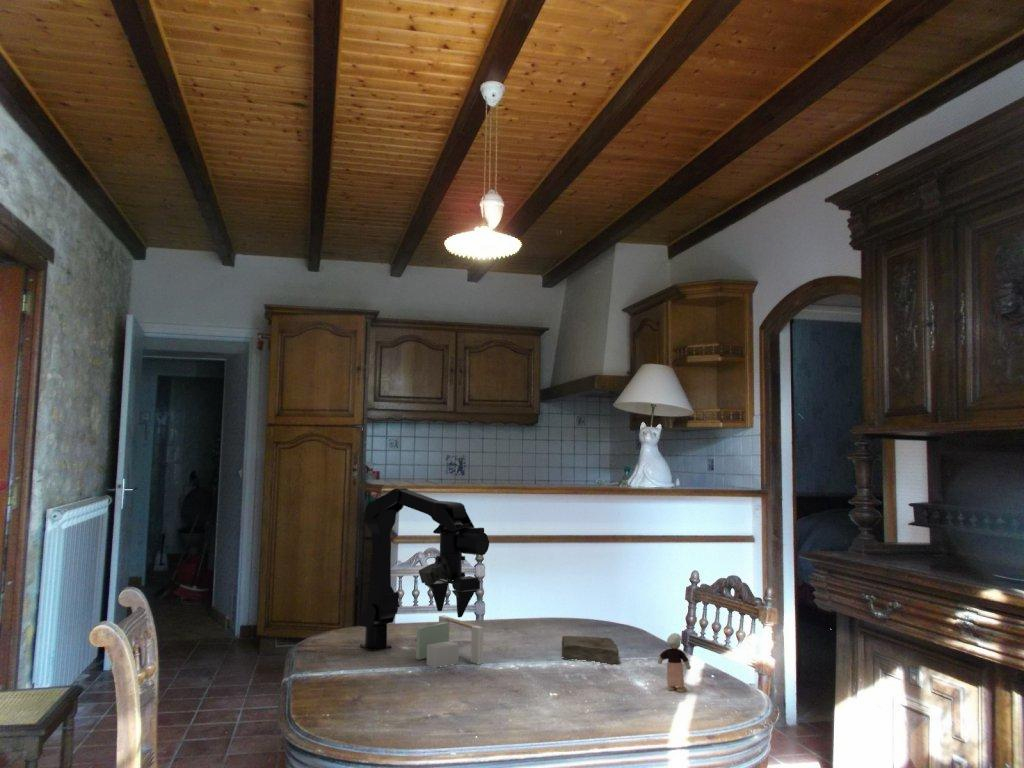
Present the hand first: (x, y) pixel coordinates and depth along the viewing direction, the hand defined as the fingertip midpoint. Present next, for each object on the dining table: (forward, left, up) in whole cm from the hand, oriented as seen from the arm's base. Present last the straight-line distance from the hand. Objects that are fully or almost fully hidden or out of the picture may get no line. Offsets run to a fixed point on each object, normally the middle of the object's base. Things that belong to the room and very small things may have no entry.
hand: (449, 614), depth 204 cm
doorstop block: (0, -2, -13) cm, 13 cm away
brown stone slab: (+15, +35, -13) cm, 40 cm away
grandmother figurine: (+48, +30, -13) cm, 58 cm away
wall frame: (-4, +6, -12) cm, 14 cm away
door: (-9, 0, -12) cm, 15 cm away
